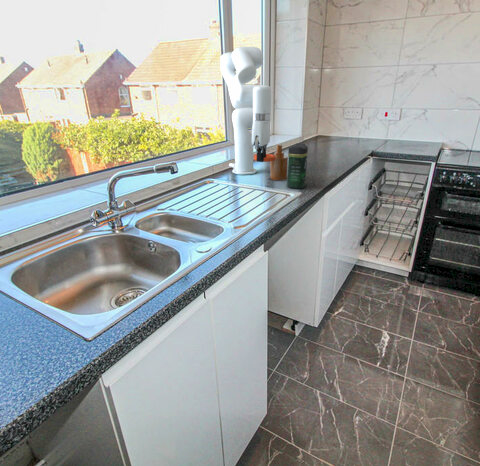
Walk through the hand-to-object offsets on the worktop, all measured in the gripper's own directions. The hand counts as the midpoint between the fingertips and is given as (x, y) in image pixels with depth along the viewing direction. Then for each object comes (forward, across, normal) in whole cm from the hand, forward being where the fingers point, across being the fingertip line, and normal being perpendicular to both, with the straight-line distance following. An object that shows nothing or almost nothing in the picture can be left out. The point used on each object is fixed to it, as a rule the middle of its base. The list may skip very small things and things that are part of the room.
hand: (261, 160), depth 147 cm
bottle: (+11, -13, +4) cm, 18 cm away
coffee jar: (+11, -3, +16) cm, 20 cm away
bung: (0, -4, 0) cm, 4 cm away
